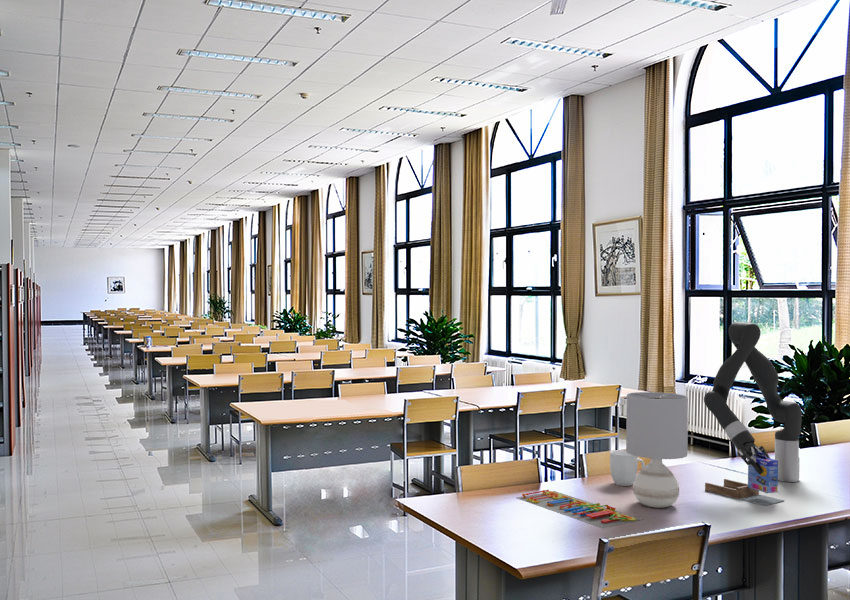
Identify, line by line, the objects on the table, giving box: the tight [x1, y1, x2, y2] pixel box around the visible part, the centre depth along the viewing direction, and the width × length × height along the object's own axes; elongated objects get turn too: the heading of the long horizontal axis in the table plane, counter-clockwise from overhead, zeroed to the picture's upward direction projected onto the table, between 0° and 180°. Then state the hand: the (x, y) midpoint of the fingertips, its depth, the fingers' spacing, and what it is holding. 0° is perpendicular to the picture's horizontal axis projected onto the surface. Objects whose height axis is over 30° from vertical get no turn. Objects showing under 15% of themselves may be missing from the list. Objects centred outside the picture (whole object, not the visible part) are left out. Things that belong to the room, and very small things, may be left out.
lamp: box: [625, 391, 689, 509], centre depth 282 cm, size 22×22×40 cm
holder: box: [704, 478, 760, 499], centre depth 302 cm, size 13×15×4 cm
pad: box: [740, 494, 785, 507], centre depth 290 cm, size 12×10×1 cm
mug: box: [609, 449, 646, 487], centre depth 314 cm, size 15×11×13 cm
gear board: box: [515, 489, 644, 529], centre depth 277 cm, size 45×2×19 cm
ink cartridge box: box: [747, 452, 779, 494], centre depth 290 cm, size 10×6×14 cm, turn 25°
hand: (766, 471), depth 289 cm, fingers closed on ink cartridge box, 6 cm apart
